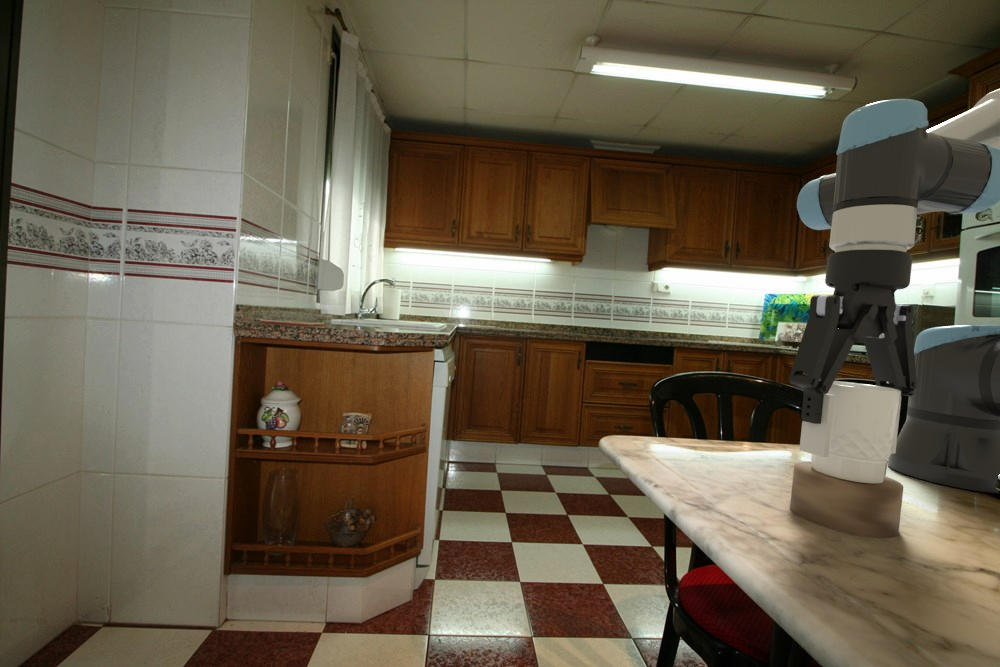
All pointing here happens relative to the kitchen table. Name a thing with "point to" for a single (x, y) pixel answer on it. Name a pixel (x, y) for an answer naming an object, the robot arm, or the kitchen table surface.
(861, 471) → the white cup
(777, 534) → the kitchen table surface
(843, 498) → the walnut block
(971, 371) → the robot arm
